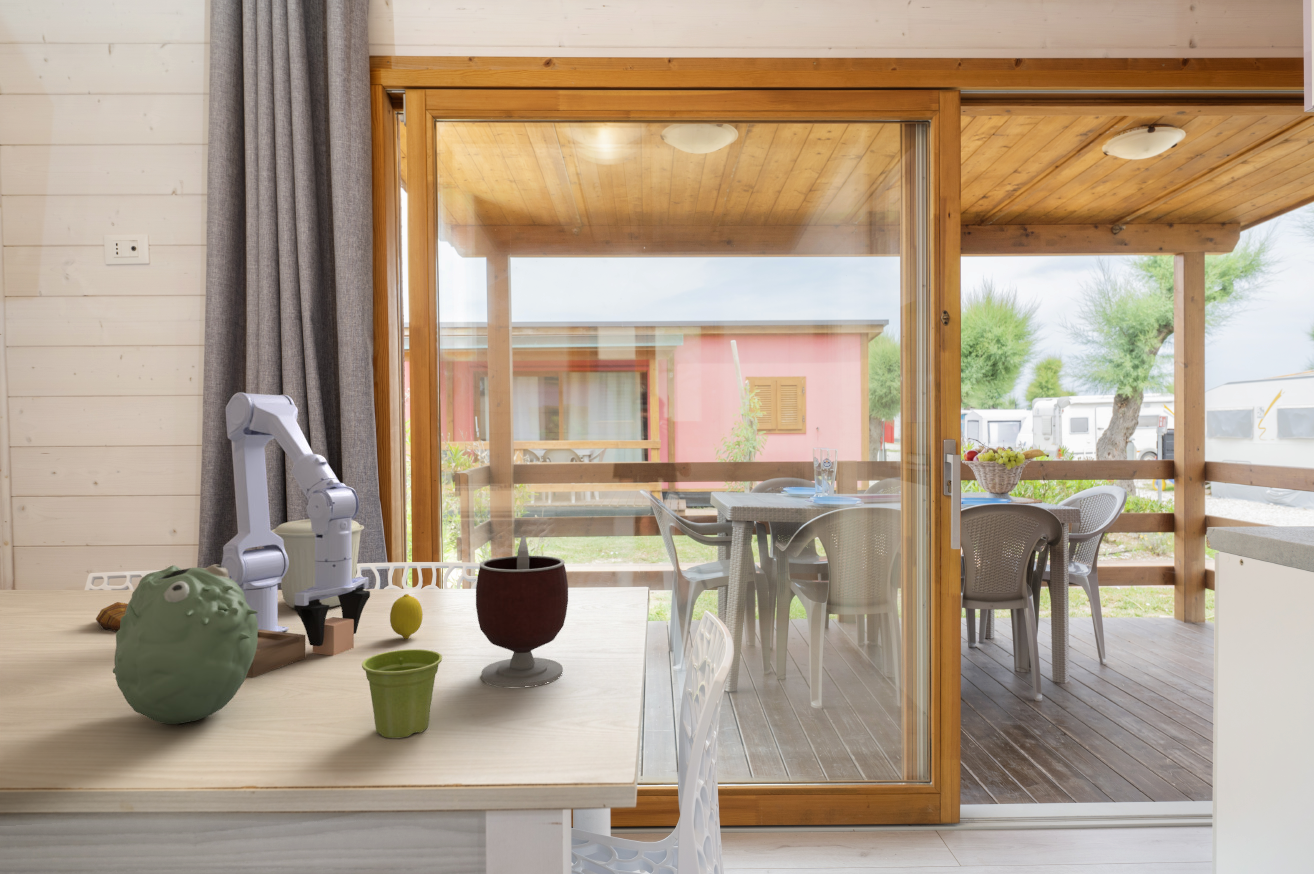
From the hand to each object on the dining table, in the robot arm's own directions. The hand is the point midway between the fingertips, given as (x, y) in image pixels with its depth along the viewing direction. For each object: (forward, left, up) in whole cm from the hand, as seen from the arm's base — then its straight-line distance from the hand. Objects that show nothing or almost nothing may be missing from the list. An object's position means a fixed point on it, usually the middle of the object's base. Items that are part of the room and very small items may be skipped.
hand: (333, 638), depth 123 cm
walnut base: (-6, -10, -2) cm, 12 cm away
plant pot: (+33, -23, -2) cm, 40 cm away
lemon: (+7, +10, -2) cm, 12 cm away
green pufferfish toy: (+5, -30, -2) cm, 30 cm away
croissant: (-50, -2, -2) cm, 50 cm away
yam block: (0, 0, -2) cm, 2 cm away
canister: (-28, +25, -2) cm, 38 cm away
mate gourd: (+36, +1, -2) cm, 36 cm away
